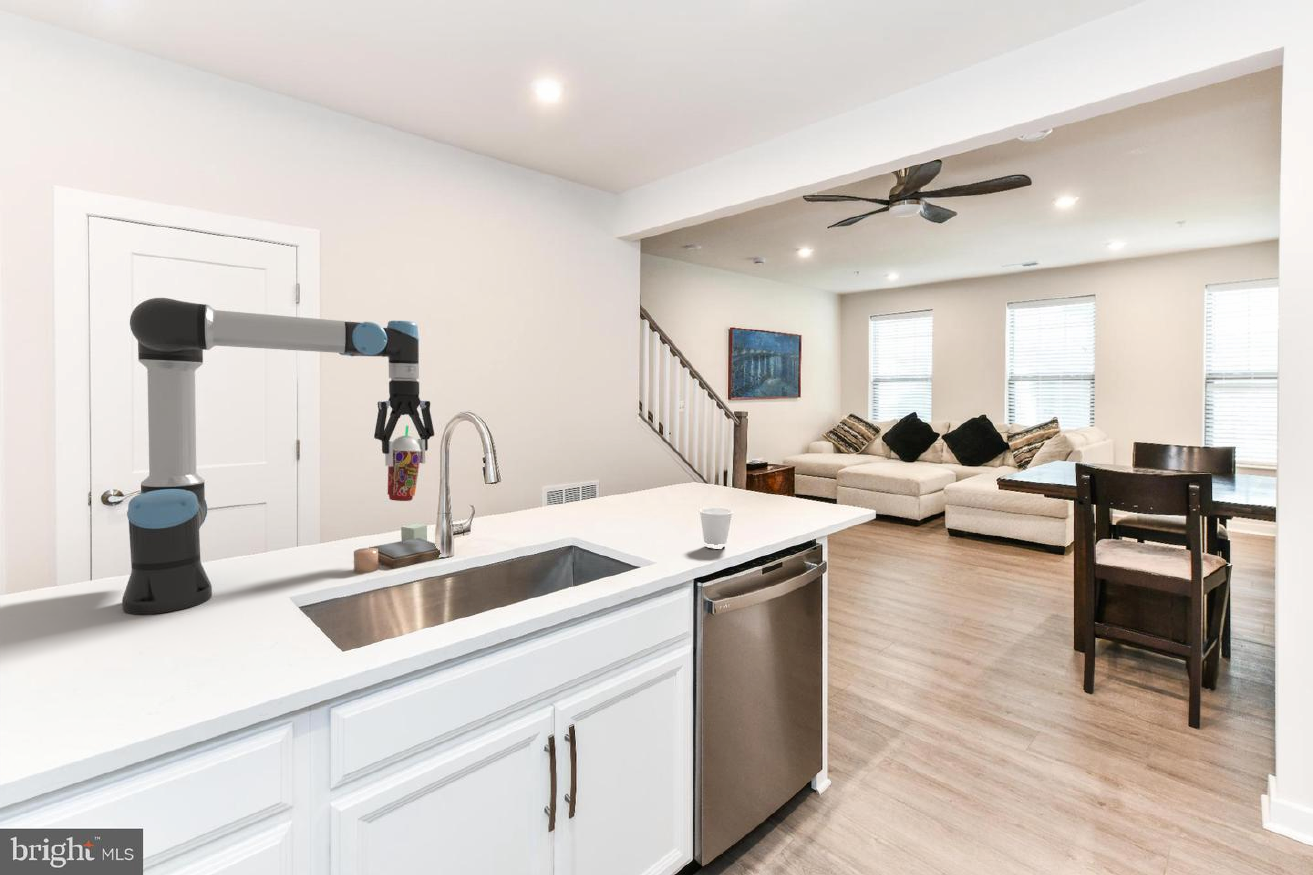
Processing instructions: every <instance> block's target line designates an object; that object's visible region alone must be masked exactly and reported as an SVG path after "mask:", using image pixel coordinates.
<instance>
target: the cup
mask: <svg viewBox="0 0 1313 875" xmlns="http://www.w3.org/2000/svg"><path fill="white" fill-rule="evenodd" d="M698 512H699V513H700V522H701V528H702V534H703V535H702V536H703V543H704V542H705V543H707V544H714V545H718V544H725V543H726V544H727V541H728V536H729V531H730V525H731V520H732V516H733V513H734V511H733V510H731V509H728V508H724V507H704V508H701V509H699V511H698Z"/></svg>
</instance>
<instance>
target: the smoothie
mask: <svg viewBox="0 0 1313 875" xmlns="http://www.w3.org/2000/svg"><path fill="white" fill-rule="evenodd" d="M404 431H405V432H404V433H405V434H404V435H401V436H398V437H397V438H395V439H394V440H393V441H392V442H393V466H391V467H390V466H387V495H388V497H389V500H390V501H396V502H410V501H413V497H415V495H416V489H417V481H418V476H419V469H420V464H421V463H420V457H421V452H422V450H421V449H420V446H419V444H418V442H417V440H416V439H415V438H414V437H412V436H409V425H406V426H405V430H404Z"/></svg>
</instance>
